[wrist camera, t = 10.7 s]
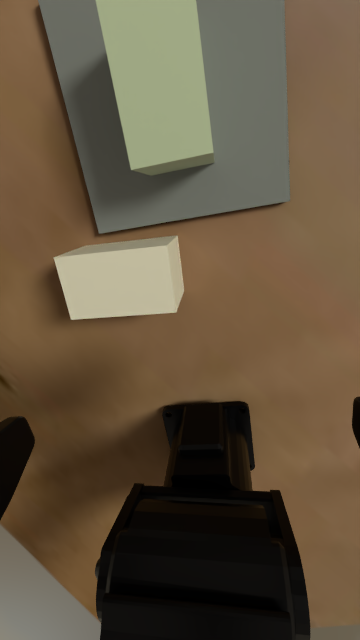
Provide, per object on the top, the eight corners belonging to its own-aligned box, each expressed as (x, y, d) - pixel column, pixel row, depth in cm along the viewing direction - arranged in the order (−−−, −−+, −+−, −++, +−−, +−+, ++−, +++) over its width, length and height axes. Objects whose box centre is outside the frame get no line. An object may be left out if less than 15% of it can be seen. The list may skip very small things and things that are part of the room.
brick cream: (177, 235, 18) (167, 245, 14) (184, 290, 19) (176, 312, 16) (85, 245, 19) (53, 257, 15) (97, 297, 20) (71, 319, 17)
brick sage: (214, 162, 16) (213, 152, 12) (150, 175, 16) (131, 169, 13) (197, 16, 13) (190, -53, 10) (124, 37, 14) (91, -19, 10)
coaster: (287, 200, 16) (289, 200, 16) (102, 232, 18) (99, 233, 18) (278, -79, 12) (281, -92, 12) (42, -1, 14) (35, -9, 14)
